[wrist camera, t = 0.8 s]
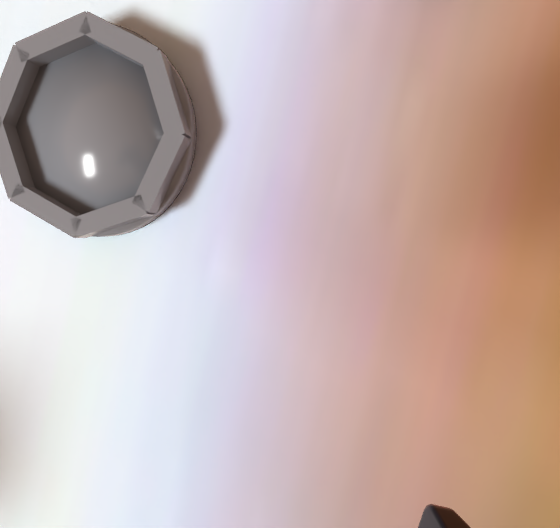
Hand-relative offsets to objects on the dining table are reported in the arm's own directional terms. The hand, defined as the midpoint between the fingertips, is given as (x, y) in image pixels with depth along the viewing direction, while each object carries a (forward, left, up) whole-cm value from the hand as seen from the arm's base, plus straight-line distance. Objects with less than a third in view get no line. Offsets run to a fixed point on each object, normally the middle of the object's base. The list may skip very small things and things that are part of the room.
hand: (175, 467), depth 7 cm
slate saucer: (+13, -4, -13) cm, 19 cm away
